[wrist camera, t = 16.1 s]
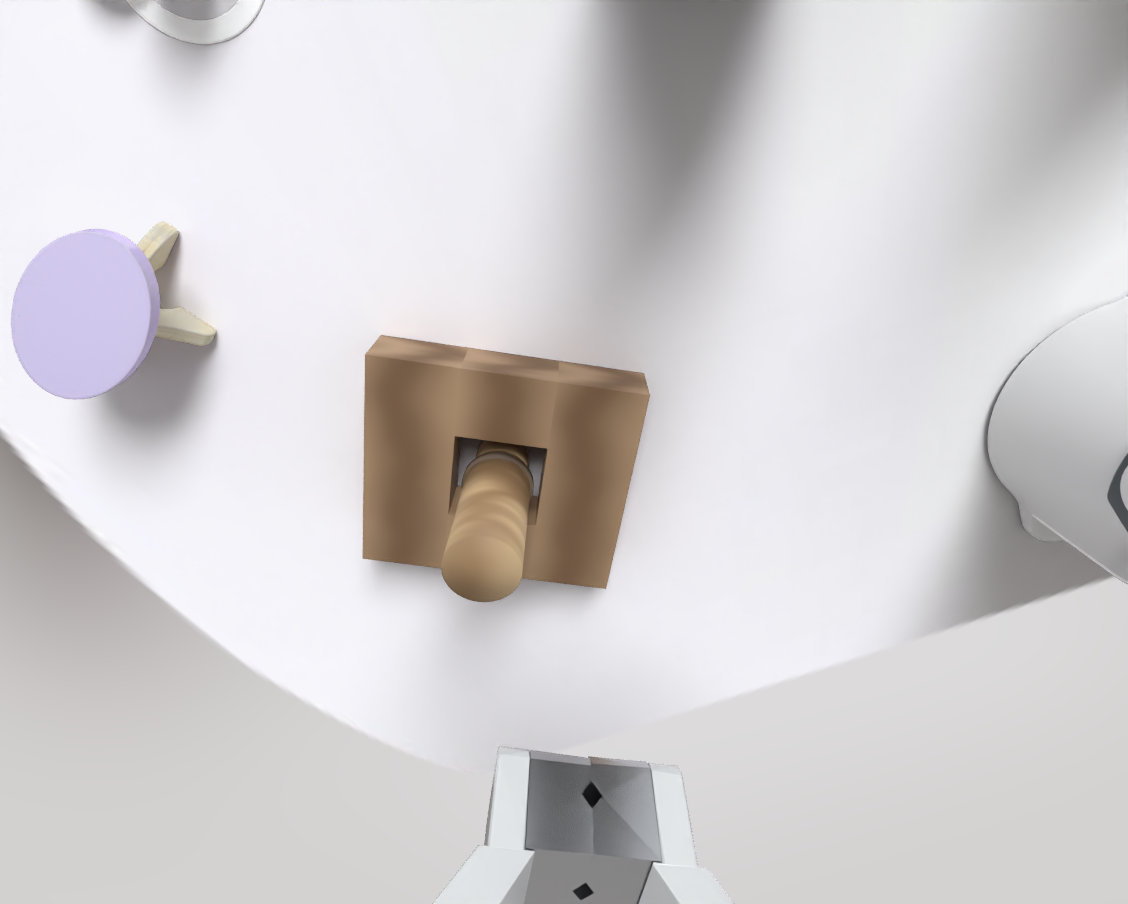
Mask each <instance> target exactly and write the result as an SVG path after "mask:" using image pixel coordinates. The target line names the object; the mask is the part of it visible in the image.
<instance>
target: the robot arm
mask: <svg viewBox="0 0 1128 904" xmlns="http://www.w3.org/2000/svg"><path fill="white" fill-rule="evenodd" d="M988 452H989V458H990V462H991V464H992V467H993V469H994V471H995V474H996V475H997V477H998V478H999V480H1000V481H1001V482H1002V484H1003V485H1004V486H1005V487H1006V488H1007V489H1008V490H1009V491H1010V492H1011V493H1012V494H1013V496H1014V497H1015V498H1016V500H1017V501H1018V503H1019V510H1020V516H1021V521H1022V524H1023V527H1024V529H1025V530H1026V531H1027V532H1028V533H1029V534H1031V535H1032V536H1033V537H1035V538H1036V539H1038V540H1040V541H1047V542H1049V541H1067V542H1068V543H1069V544H1071V545H1072V546H1073V547H1075V548H1076V549H1077V550H1079V551H1080V552H1081V553H1083V554H1084V555H1086V556H1087V557H1088V558H1090V559H1091V560H1093V561H1094V562H1095V563H1097V564H1098V565H1099V566H1101V567H1102V568H1104V569H1105V570H1106V571H1108V572H1109V573H1111V574H1112V575H1113V576H1115V577H1116V578H1118V579H1119V580H1121V581H1122V582H1124V583H1126V584H1128V296H1126V297H1124V298H1122V299H1119V300H1117V301H1114V302H1112V303H1109V304H1107V305H1104V306H1102V307H1099V308H1097V309H1094V310H1092V311H1090V312H1087V313H1085V314H1083V315H1081V316H1079V317H1078V318H1076V319H1074V320H1072V321H1071V322H1069V323H1067V324H1066V325H1064V326H1063V327H1061V328H1060V329H1058V330H1057V331H1055V332H1054V333H1053V334H1051V335H1050V336H1049V337H1047V338H1046V339H1045V340H1044V341H1042V342H1041V343H1040V344H1039V345H1038V346H1037V347H1036V348H1035V349H1034V350H1032V352H1031V353H1030V354H1029V355H1028V356H1027V357H1026V358H1025V359H1024V360H1023V361H1022V362H1021V363H1020V365H1019V366H1018V367H1017V368H1016V370H1015V371H1014V372H1013V374H1012V375H1011V376H1010V378H1009V379H1008V381H1007V382H1006V384H1005V386H1004V387H1003V389H1002V391H1001V393H1000V395H999V397H998V399H997V401H996V404H995V406H994V409H993V412H992V415H991V419H990V423H989V429H988ZM433 904H734V903H733V901H732V900H731V899H730V898H729V896H728V895H727V893H726V892H725V891H724V889H723V888H722V887H721V886H720V884H719V883H718V881H717V880H716V879H715V878H714V876H713V875H712V873H711V872H710V871H709V869H707V868H704V867H698V863H697V857H696V852H695V846H694V840H693V835H692V828H691V823H690V818H689V812H688V806H687V800H686V795H685V789H684V783H683V777H682V772H681V771H680V769H679V767H678V766H674V765H663V764H653V763H646V762H642V761H631V760H620V759H609V758H598V757H588V758H585V757H578V756H570V755H563V754H556V753H548V752H541V751H534V750H530V751H529V750H526V749H518V748H509V747H500V746H499V748H498V753H497V759H496V766H495V772H494V778H493V784H492V791H491V797H490V804H489V811H488V818H487V825H486V834H485V843H484V846H482V845H478V846H477V847H476V849H475V850H474V852H473V853H472V854H471V855H470V856H469V858H468V859H467V860H466V862H465V863H464V864H463V865H462V867H461V868H460V869H459V870H458V872H457V873H456V874H455V876H454V877H453V878H452V879H451V881H450V882H449V883H448V885H447V886H446V887H445V888H444V890H443V891H442V892H441V894H440V895H439V896H438V897H437V899H436V900H435V901H434V903H433Z"/></svg>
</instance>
